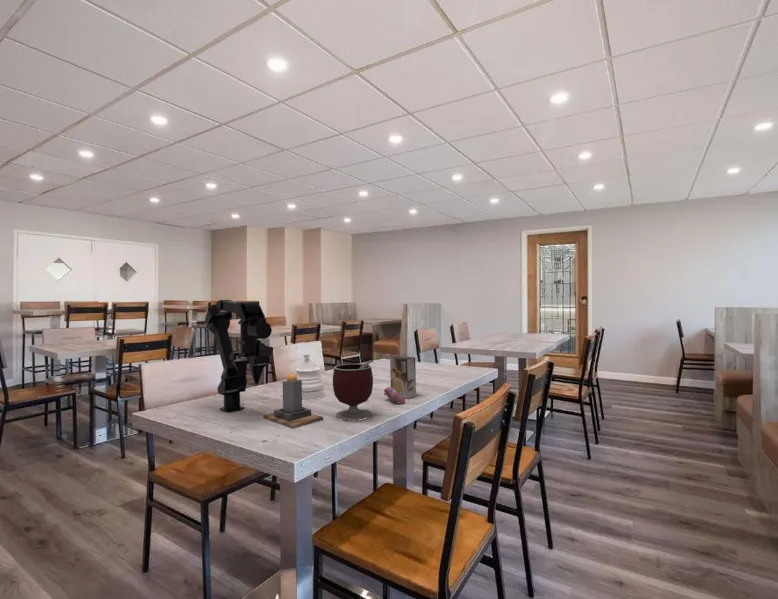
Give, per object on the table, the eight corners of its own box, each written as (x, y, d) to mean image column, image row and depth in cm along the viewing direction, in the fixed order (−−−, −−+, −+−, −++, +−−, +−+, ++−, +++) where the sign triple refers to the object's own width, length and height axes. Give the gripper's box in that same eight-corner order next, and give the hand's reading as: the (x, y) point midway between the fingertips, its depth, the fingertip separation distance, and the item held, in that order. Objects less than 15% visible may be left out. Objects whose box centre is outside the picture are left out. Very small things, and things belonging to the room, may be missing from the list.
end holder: (263, 417, 141) (263, 409, 141) (292, 410, 150) (292, 402, 150) (292, 428, 128) (292, 419, 128) (323, 419, 137) (323, 410, 137)
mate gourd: (324, 417, 140) (323, 359, 139) (350, 408, 151) (349, 354, 151) (360, 425, 131) (359, 362, 131) (385, 414, 142) (384, 357, 142)
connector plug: (283, 416, 138) (282, 375, 138) (292, 413, 142) (291, 373, 142) (293, 418, 136) (292, 376, 136) (302, 414, 140) (301, 374, 140)
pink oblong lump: (387, 403, 164) (380, 388, 163) (396, 396, 165) (389, 382, 164) (397, 409, 155) (389, 393, 154) (406, 402, 156) (399, 387, 155)
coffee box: (417, 396, 168) (416, 357, 168) (408, 399, 163) (407, 359, 163) (399, 393, 174) (398, 355, 174) (389, 396, 169) (389, 357, 169)
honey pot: (320, 400, 164) (319, 355, 163) (288, 400, 164) (288, 356, 164) (326, 393, 176) (325, 351, 176) (296, 393, 177) (296, 351, 177)
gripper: (283, 337, 142) (284, 381, 142) (257, 334, 155) (257, 375, 155) (254, 339, 134) (255, 387, 134) (228, 336, 147) (229, 380, 147)
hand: (250, 382), depth 143 cm, fingers open, 9 cm apart
